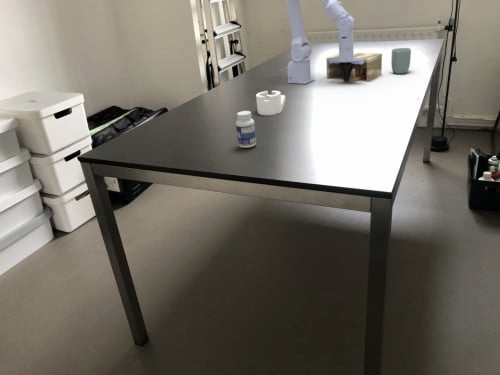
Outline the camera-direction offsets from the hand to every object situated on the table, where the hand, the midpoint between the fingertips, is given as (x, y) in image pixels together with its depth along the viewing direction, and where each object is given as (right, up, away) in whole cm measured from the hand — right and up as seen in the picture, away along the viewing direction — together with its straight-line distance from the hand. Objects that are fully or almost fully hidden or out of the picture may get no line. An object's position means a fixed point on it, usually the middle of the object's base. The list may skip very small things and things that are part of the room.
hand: (346, 81), depth 185 cm
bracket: (-32, -15, -20) cm, 41 cm away
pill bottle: (-41, -32, -55) cm, 76 cm away
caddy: (+5, +2, +5) cm, 8 cm away
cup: (+25, +5, +8) cm, 27 cm away
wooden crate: (+5, +4, +9) cm, 11 cm away
